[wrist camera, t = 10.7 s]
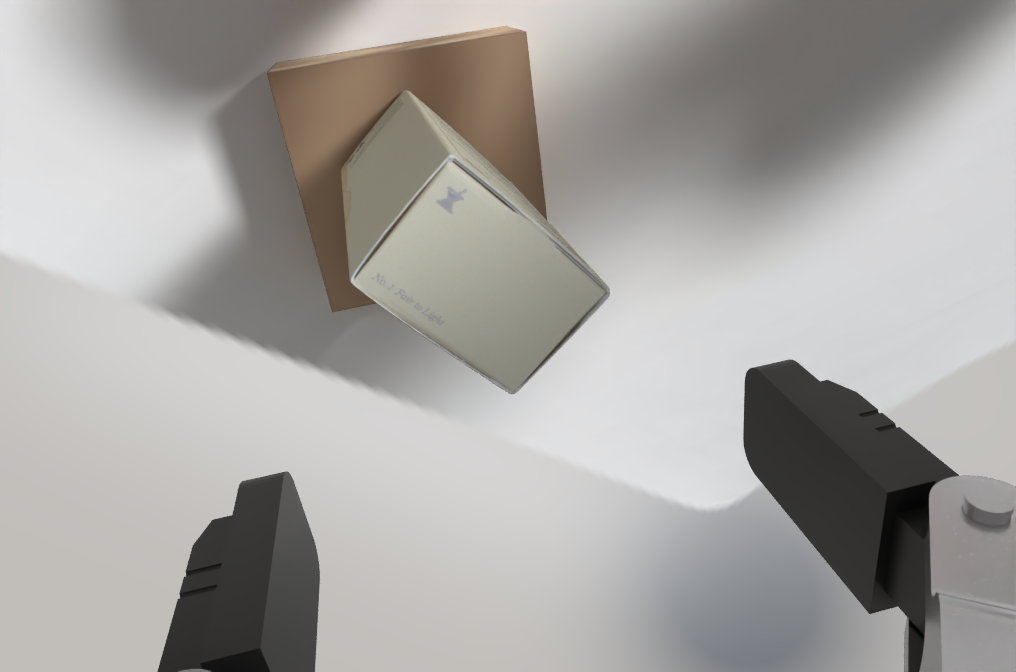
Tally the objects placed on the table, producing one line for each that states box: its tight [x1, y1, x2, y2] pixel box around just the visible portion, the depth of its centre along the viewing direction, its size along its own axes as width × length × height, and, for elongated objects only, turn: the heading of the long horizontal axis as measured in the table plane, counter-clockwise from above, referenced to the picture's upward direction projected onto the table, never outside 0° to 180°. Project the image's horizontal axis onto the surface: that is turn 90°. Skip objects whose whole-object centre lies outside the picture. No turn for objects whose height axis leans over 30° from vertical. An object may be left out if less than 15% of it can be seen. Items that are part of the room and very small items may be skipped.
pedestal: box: [267, 26, 547, 312], centre depth 31 cm, size 10×10×4 cm
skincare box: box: [341, 90, 610, 394], centre depth 24 cm, size 6×4×12 cm
